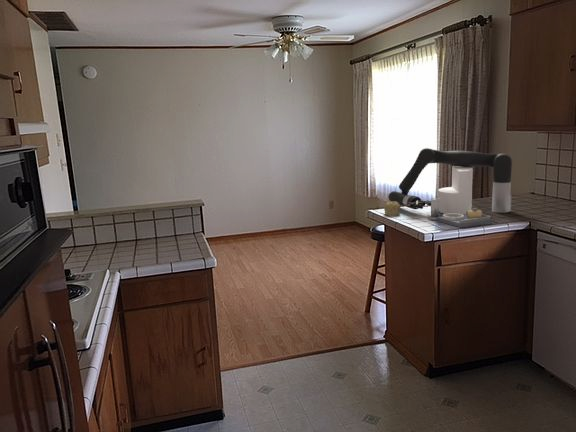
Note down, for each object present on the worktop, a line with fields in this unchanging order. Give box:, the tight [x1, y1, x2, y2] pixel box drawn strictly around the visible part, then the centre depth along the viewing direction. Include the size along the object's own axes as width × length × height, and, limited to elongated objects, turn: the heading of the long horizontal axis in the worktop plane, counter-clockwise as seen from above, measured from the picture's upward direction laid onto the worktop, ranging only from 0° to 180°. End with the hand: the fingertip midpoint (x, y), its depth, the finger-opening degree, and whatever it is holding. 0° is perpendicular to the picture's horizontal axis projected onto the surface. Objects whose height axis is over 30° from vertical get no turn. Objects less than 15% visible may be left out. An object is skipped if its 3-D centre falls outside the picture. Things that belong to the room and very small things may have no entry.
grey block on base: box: [428, 197, 442, 222], centre depth 259 cm, size 7×7×12 cm
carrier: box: [438, 207, 493, 228], centre depth 250 cm, size 20×18×8 cm
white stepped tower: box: [437, 165, 474, 214], centre depth 276 cm, size 19×19×25 cm
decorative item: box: [383, 201, 402, 217], centre depth 278 cm, size 10×10×10 cm
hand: (428, 206), depth 264 cm, fingers open, 8 cm apart
